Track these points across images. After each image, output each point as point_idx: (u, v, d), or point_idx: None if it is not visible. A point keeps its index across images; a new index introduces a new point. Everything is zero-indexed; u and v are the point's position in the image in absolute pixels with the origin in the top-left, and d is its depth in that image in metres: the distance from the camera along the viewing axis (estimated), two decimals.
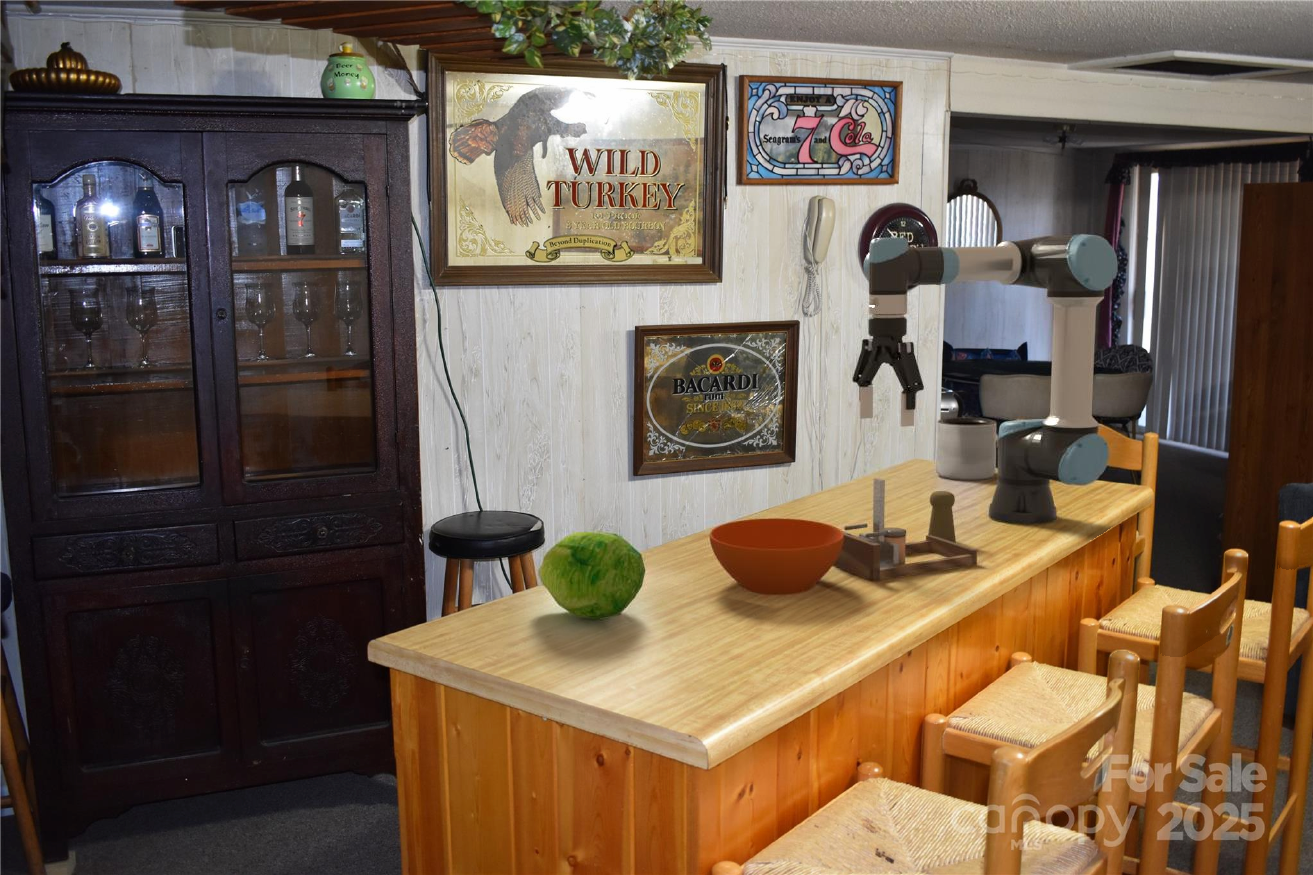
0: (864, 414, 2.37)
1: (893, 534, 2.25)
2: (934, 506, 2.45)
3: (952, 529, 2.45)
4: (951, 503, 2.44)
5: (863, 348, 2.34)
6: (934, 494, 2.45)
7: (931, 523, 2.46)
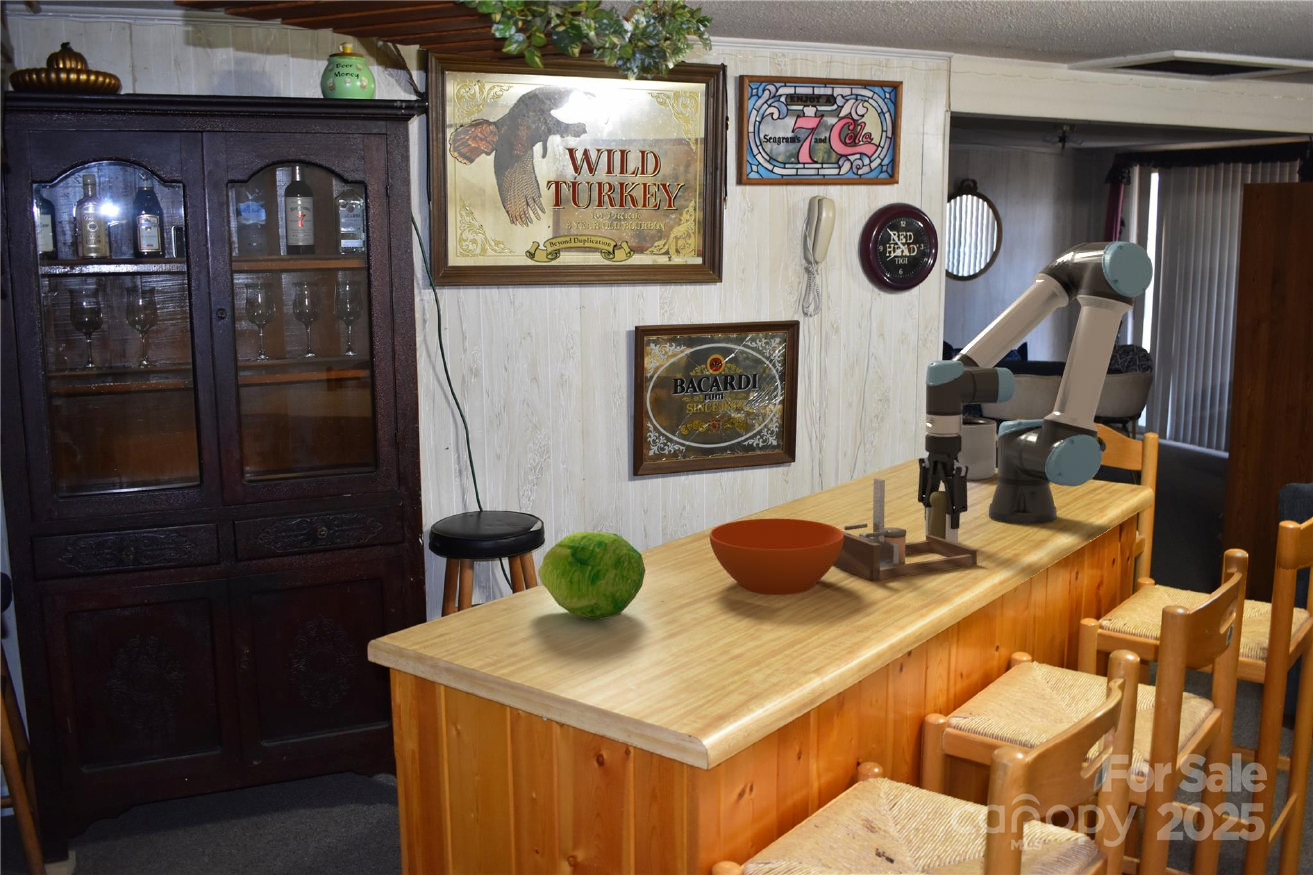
0: None
1: (893, 534, 2.25)
2: (934, 506, 2.45)
3: None
4: None
5: (921, 466, 2.49)
6: (934, 494, 2.45)
7: (931, 523, 2.46)
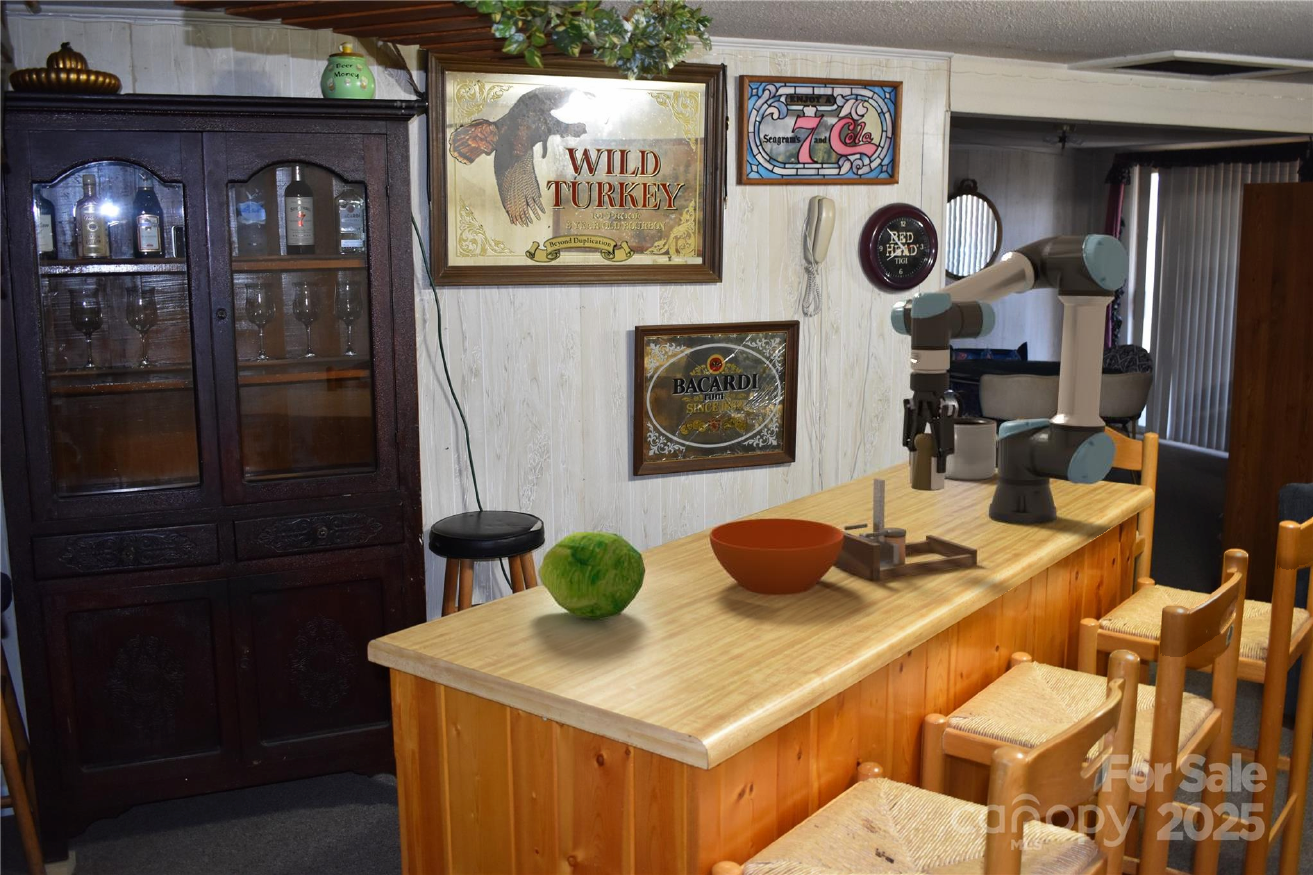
0: None
1: (893, 534, 2.25)
2: (919, 449, 2.28)
3: None
4: None
5: (905, 408, 2.32)
6: (919, 436, 2.28)
7: (915, 467, 2.29)
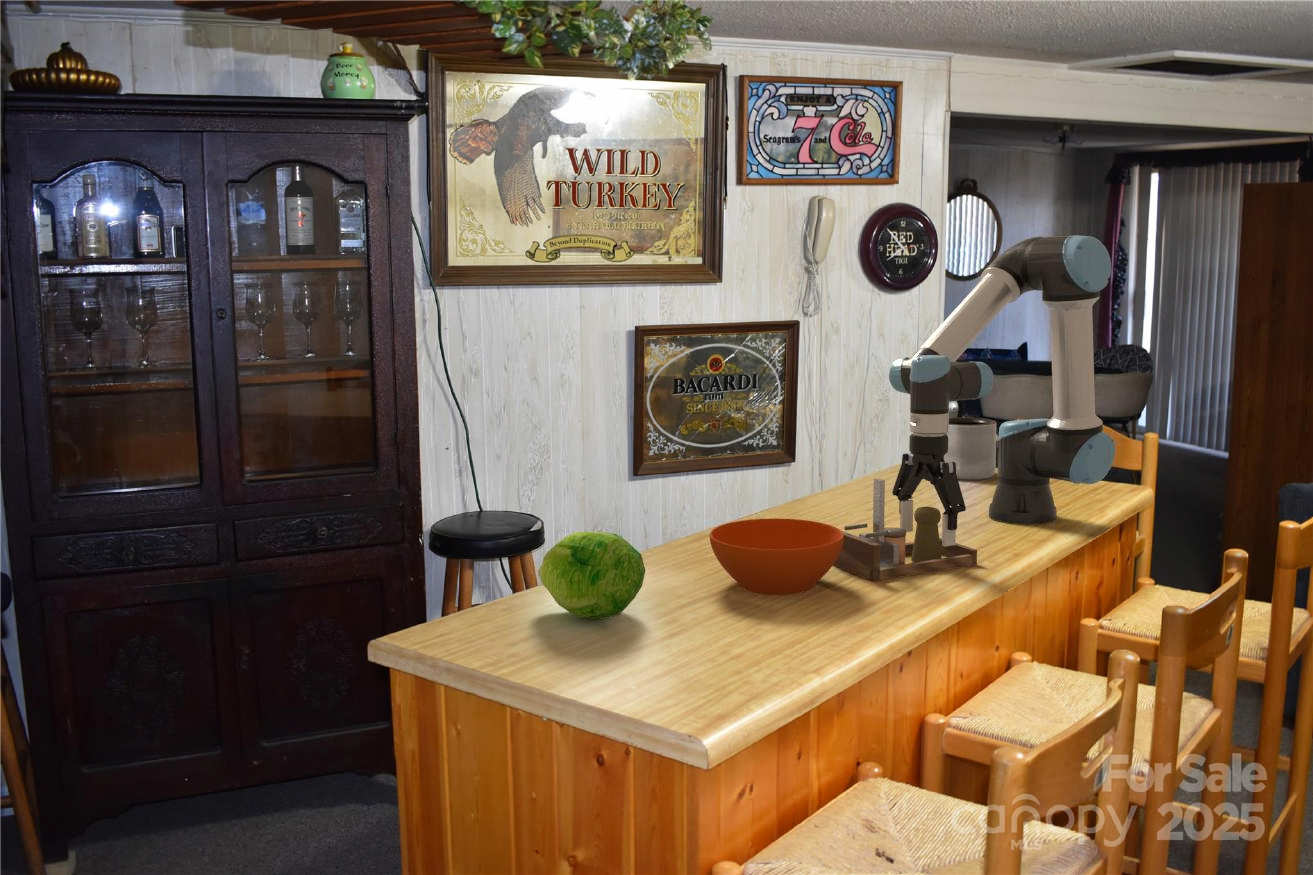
0: (904, 528, 2.36)
1: (893, 534, 2.25)
2: (919, 523, 2.29)
3: (938, 547, 2.29)
4: (937, 520, 2.28)
5: (903, 463, 2.34)
6: (919, 510, 2.29)
7: (915, 541, 2.31)
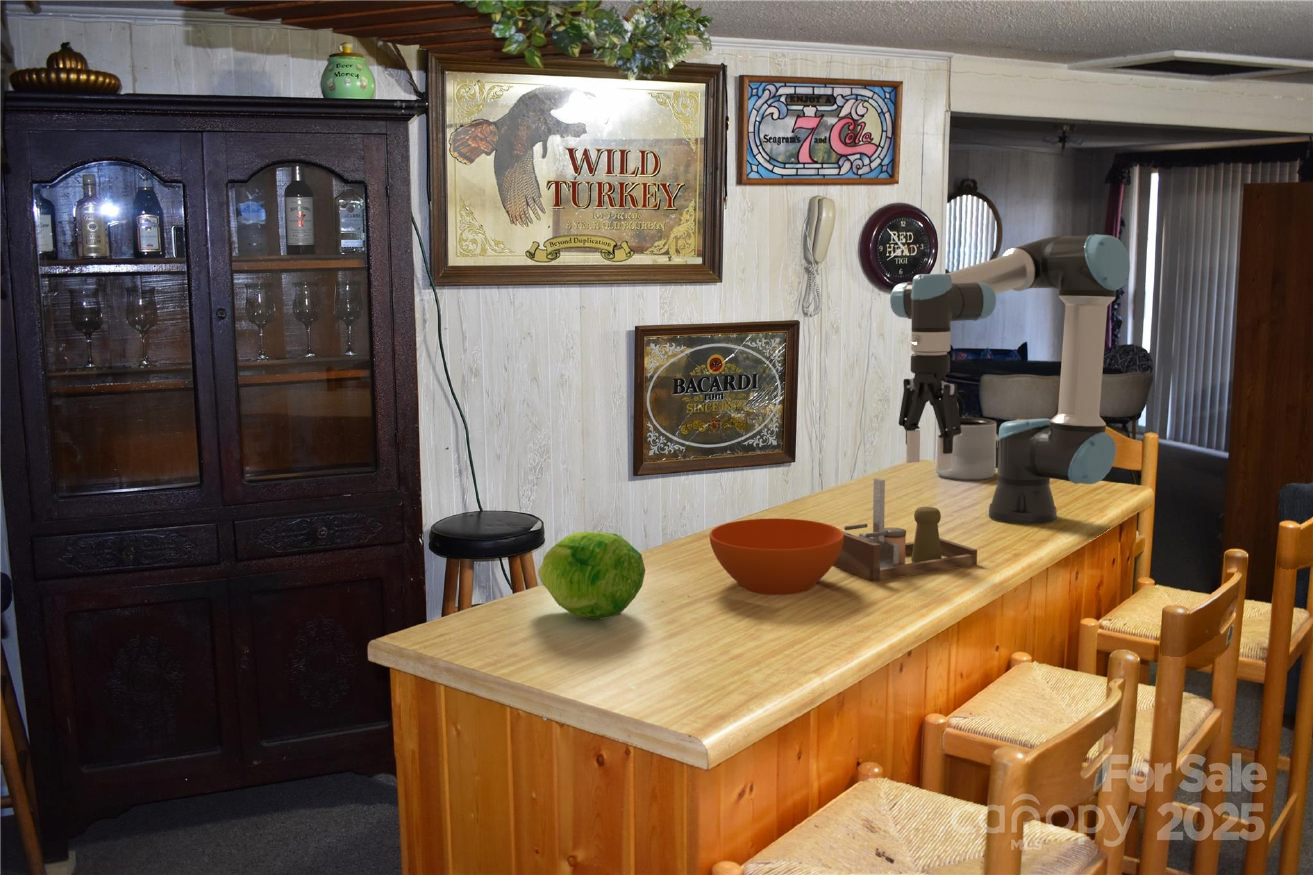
0: (911, 458, 2.32)
1: (893, 534, 2.25)
2: (919, 523, 2.29)
3: (938, 547, 2.29)
4: (937, 520, 2.28)
5: (905, 388, 2.31)
6: (919, 510, 2.29)
7: (915, 541, 2.31)
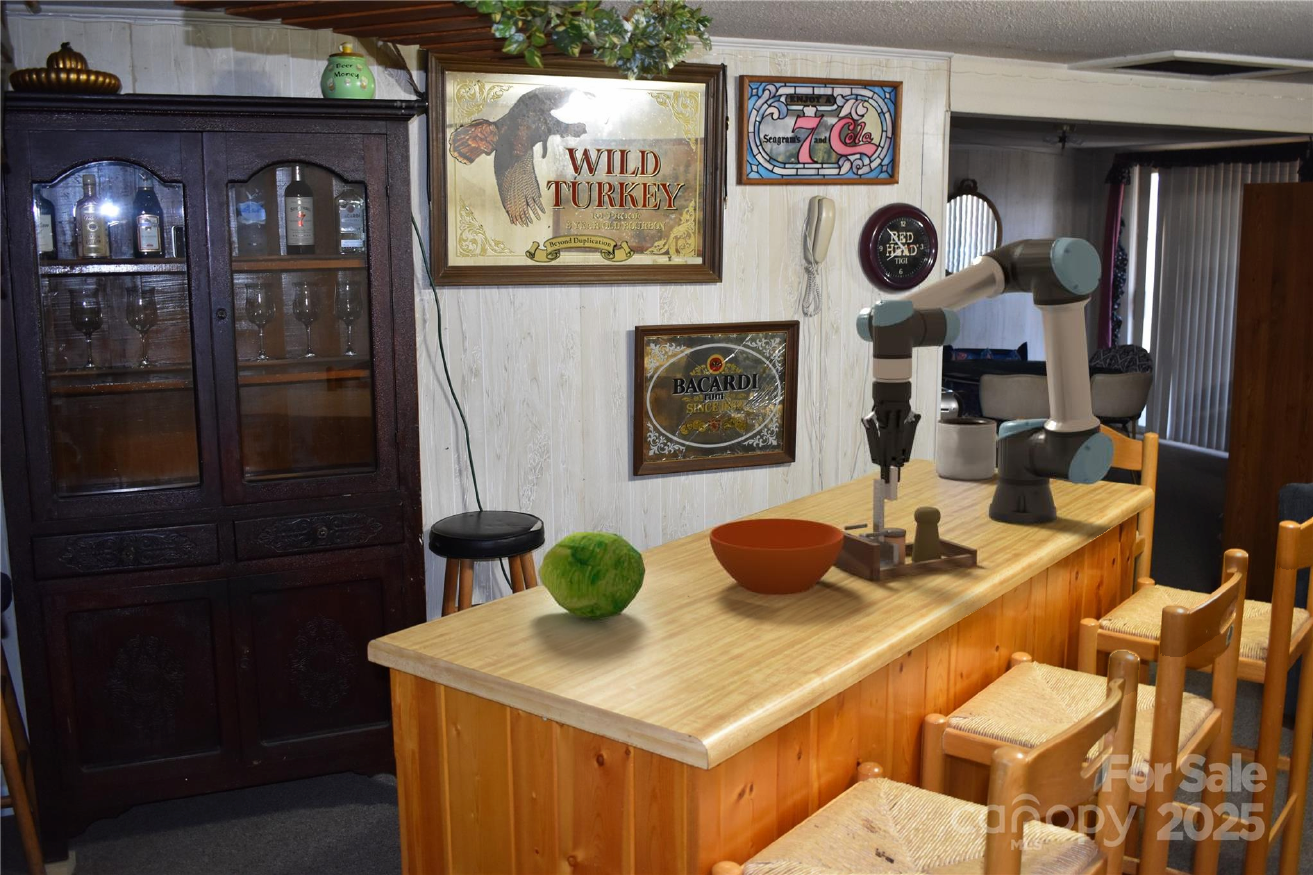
0: None
1: (893, 534, 2.25)
2: (919, 523, 2.29)
3: (938, 547, 2.30)
4: (937, 520, 2.28)
5: None
6: (919, 510, 2.29)
7: (915, 541, 2.31)
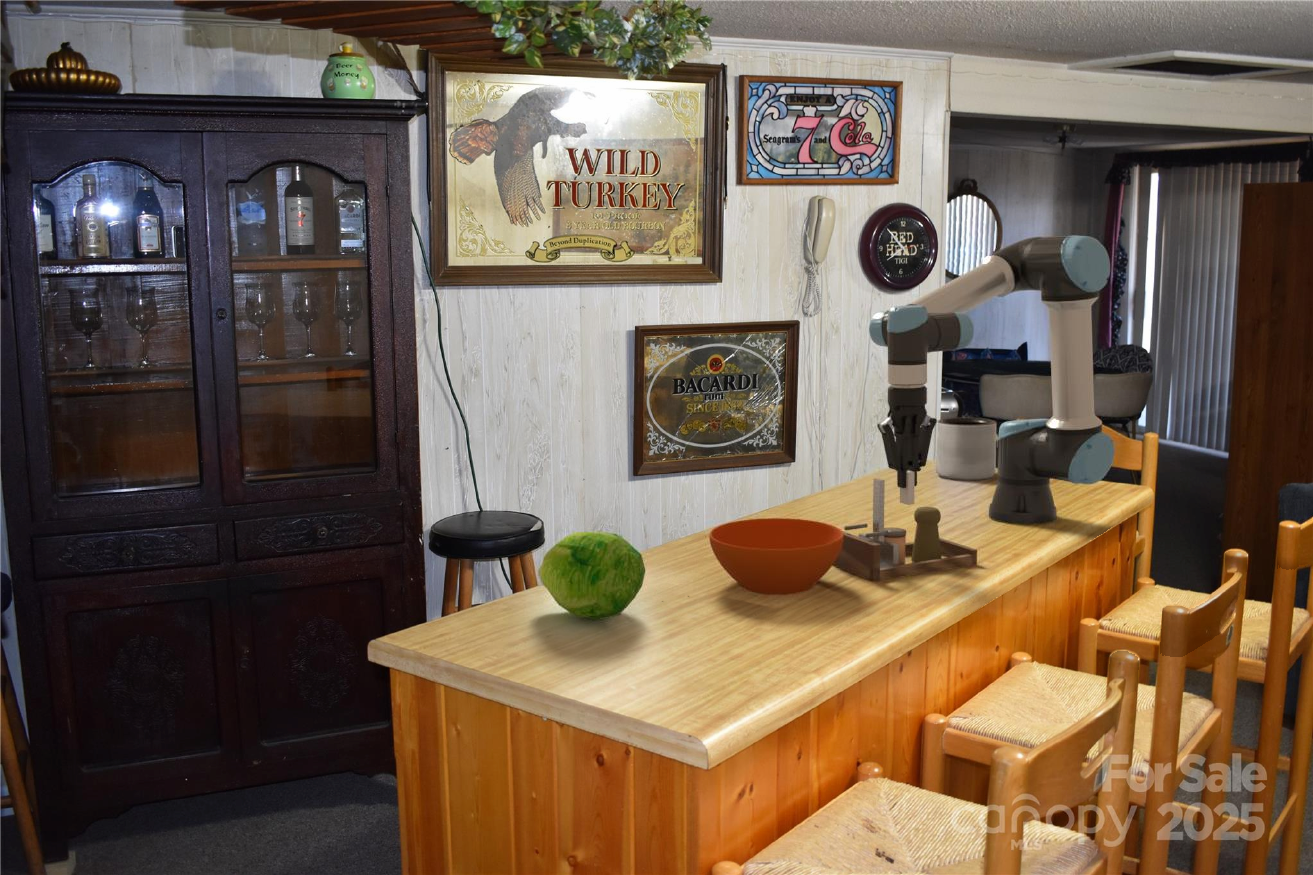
0: None
1: (893, 534, 2.25)
2: (919, 523, 2.29)
3: (938, 547, 2.30)
4: (937, 520, 2.28)
5: None
6: (919, 510, 2.29)
7: (915, 541, 2.31)
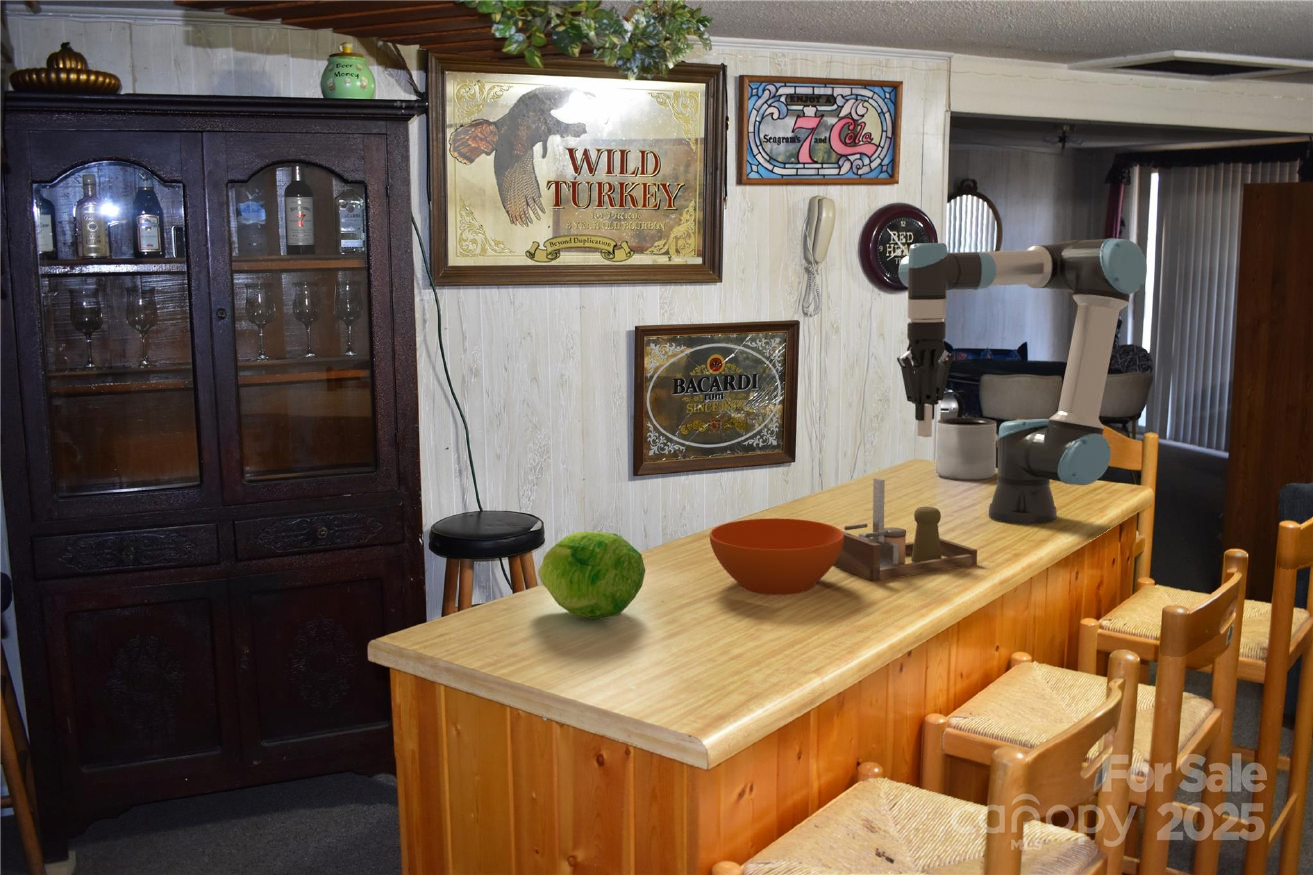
0: None
1: (893, 534, 2.25)
2: (919, 523, 2.29)
3: (938, 547, 2.30)
4: (937, 520, 2.28)
5: None
6: (919, 510, 2.29)
7: (915, 541, 2.31)
